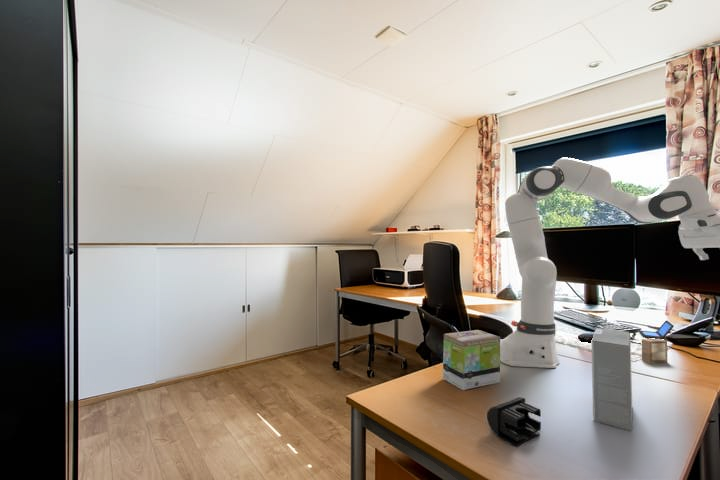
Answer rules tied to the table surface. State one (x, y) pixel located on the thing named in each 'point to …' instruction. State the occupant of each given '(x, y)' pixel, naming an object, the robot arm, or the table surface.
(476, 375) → the tea box
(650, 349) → the brown rectangular block
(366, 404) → the table surface
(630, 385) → the hard drive box
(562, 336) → the carpet tile
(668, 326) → the handheld game console
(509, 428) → the end cap
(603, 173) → the robot arm
